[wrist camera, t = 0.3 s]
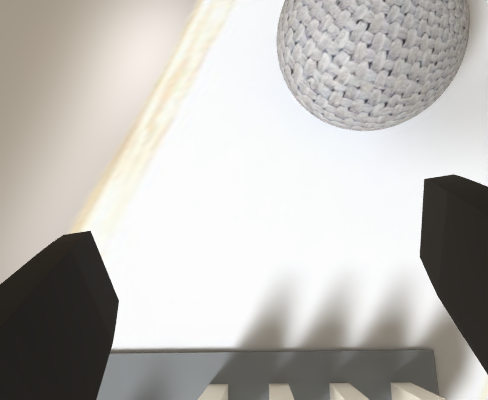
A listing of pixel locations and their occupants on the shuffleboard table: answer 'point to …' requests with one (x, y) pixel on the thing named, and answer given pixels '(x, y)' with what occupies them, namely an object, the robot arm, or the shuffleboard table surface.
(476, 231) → the robot arm
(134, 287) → the shuffleboard table surface
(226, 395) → the domino
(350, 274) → the shuffleboard table surface
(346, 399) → the domino
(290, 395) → the domino
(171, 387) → the slate mat
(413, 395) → the domino
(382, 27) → the decorative ball
